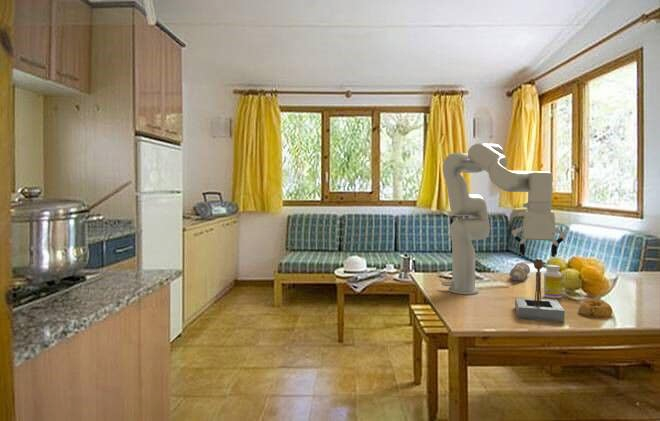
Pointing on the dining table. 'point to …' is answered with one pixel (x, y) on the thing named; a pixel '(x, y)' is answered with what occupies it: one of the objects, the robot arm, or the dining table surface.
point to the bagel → (595, 308)
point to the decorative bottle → (520, 272)
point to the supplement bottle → (553, 282)
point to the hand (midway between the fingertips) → (537, 255)
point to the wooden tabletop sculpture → (538, 280)
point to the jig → (539, 310)
